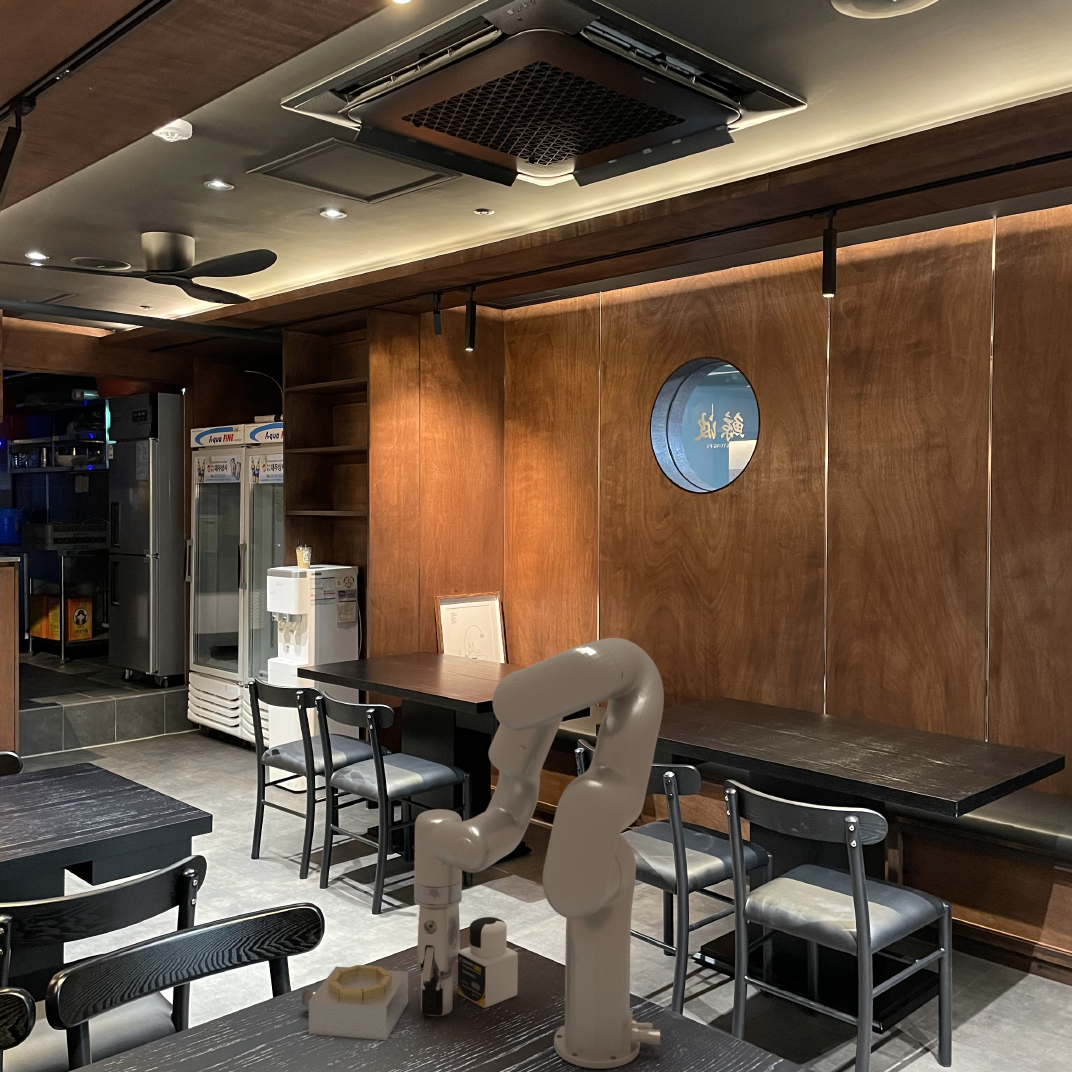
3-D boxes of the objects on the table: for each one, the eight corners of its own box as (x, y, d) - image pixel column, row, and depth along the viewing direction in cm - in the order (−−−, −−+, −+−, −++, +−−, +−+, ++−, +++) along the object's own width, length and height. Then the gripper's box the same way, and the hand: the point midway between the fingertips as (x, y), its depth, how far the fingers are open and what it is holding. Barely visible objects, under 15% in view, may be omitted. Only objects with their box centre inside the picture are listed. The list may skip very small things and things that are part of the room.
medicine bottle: (456, 993, 164) (457, 920, 164) (490, 980, 169) (491, 909, 169) (484, 1009, 159) (485, 933, 159) (518, 995, 164) (519, 922, 164)
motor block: (407, 1002, 161) (408, 964, 161) (386, 1040, 149) (386, 998, 149) (317, 995, 163) (318, 957, 163) (289, 1032, 151) (290, 991, 151)
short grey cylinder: (455, 1002, 161) (456, 965, 161) (448, 1017, 156) (449, 978, 156) (425, 1000, 162) (425, 962, 162) (417, 1014, 157) (417, 976, 157)
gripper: (449, 912, 150) (447, 1033, 150) (472, 874, 167) (470, 983, 167) (400, 909, 151) (398, 1029, 151) (428, 871, 168) (426, 980, 168)
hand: (436, 1004), depth 159 cm, fingers closed on short grey cylinder, 5 cm apart
